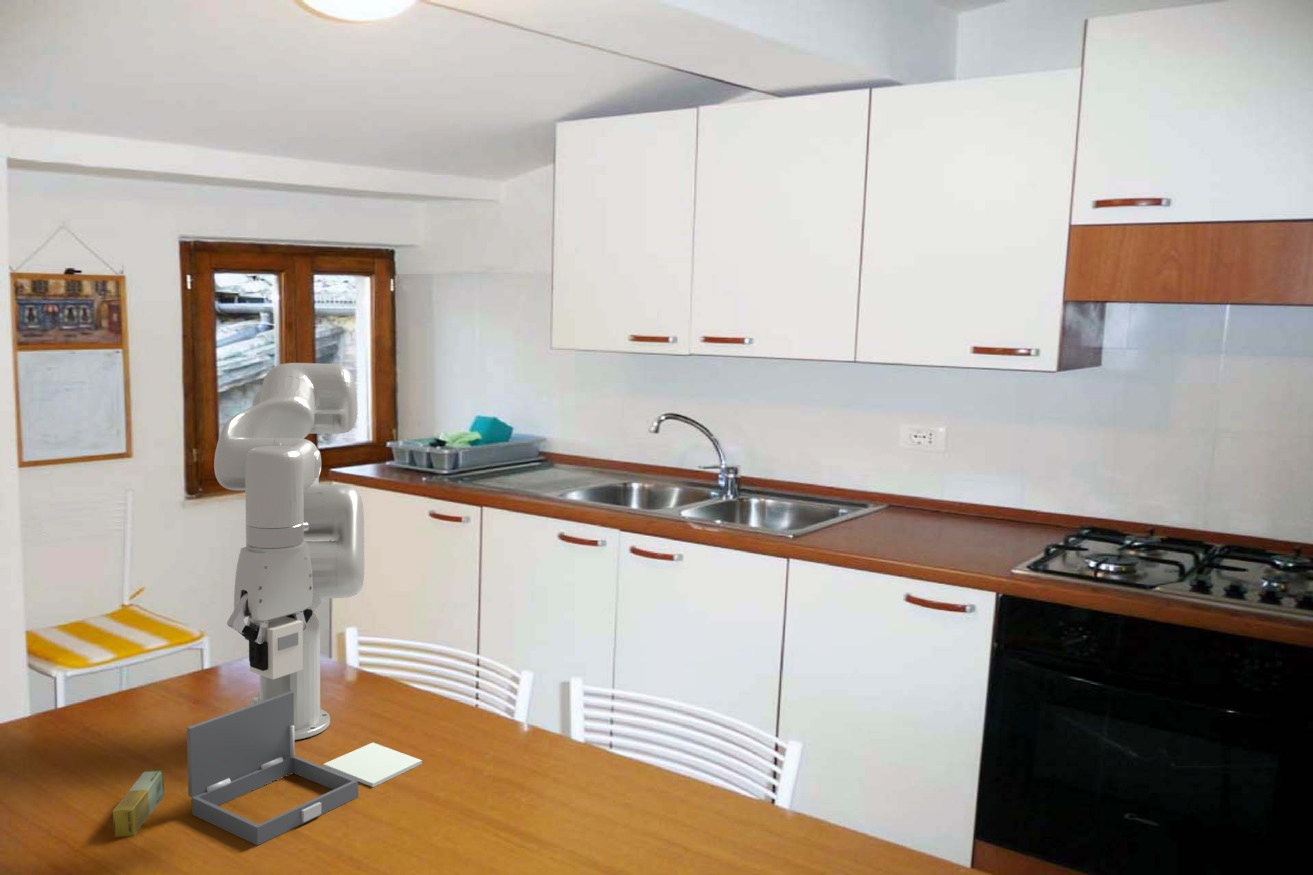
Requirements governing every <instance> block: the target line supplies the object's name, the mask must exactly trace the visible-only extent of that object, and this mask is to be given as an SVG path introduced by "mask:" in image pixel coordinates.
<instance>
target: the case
mask: <svg viewBox="0 0 1313 875" xmlns="http://www.w3.org/2000/svg"><path fill="white" fill-rule="evenodd" d="M186 739H187V740H186V744H187V745H186V746H187V751H186V752H187V785H188V787H187V788H188V790H187V791H188V792H187V794H188V797H190V798H191V809H192V812H191V814H192V815H193V816H195V817H196V818H197V817H198V818H199V819H201V820H202V821H203V820H204V821H205V822H207V823H209V824H212V825H214V826H216V827H217V828H220V829H222V830H224V831H226V832H228V833H230V834H233V835H235V836H237V837H239V838H241V839H243V840H245V841H247V842H249V843H251V844H253V845H255V846H260V845H262V844H265V843H267V841H270V840H272V839H274V838H277V837H278V836H280V835H283V834H284V833H286V832H289V831H291V830H292V829H295V828H297V827H299V826H301V825H303V824H305V823H307V822H310V821H311V820H314V819H316V818H318V817H319V816H322V815H324V814H326V813H328V812H330V811H333V810H334V809H336V808H339V807H340V806H342V805H344V804H347V803H349V802H351V801H353V800H355V799H357V798H359V781H358V780H355V779H353V778H350V777H348V776H345V775H343V774H340V773H338V772H335V771H332V770H330V769H327V768H325V767H323V766H322V765H319V764H317V763H314V762H312V761H310V760H307V759H304V758H302V757H299V756H298V755H295V740H294V692H291V691H289V692H287V693H284V694H281V695H278V696H275V697H272V698H269V699H267V700H264V701H261V702H258V703H255V704H252V705H251V704H249V705H246V706H244V707H240V708H239V709H236V710H232V711H229V712H226V713H224V714H221V715H219V716H218V715H217V716H216V717H212V718H210V719H207V720H204V721H202V722H198V723H196V724H193V725H189V726H187V727H186ZM291 773H293V774H294V773H296V774H295V775H297V774H298V775H297V776H299V775H301V776H300V777H302V778H305V779H307V780H309V781H311V782H314V783H317V784H319V785H321V786H323V787H327V788H328V789H331V790H330V791H328V792H326V793H323V794H321V795H319V796H317V797H315V798H313V799H310V800H308V801H306V802H305V803H302V804H300V805H297V806H295V807H293V808H291V809H289V810H286V811H285V812H282V813H280V814H278V815H275V816H273V817H272V818H270V819H267V820H266V821H263V822H261V823H255V822H254V821H252V820H250V819H247V818H246V817H242V816H240V815H239V814H237V813H234V812H232V811H230V810H227V809H226V808H223V807H220V805H223V804H226V803H228V802H230V801H233V800H235V799H236V798H239V797H241V795H242V796H243V794H244V795H246V794H248V792H249V793H251V792H253V791H256V790H257V788H258V789H259V788H262V786H263V787H264V785H265V786H267V785H269V783H270V782H272V781H274V782H276V781H275V780H277V779H279V780H281V779H282V778H281V777H284V776H286V775H288V776H290V774H291ZM291 775H292V774H291ZM286 777H287V776H286ZM280 778H281V779H280ZM284 778H285V777H284ZM277 781H278V780H277ZM272 783H273V782H272ZM266 784H267V785H266ZM270 784H271V783H270ZM255 789H256V790H255ZM252 790H253V791H252Z"/></svg>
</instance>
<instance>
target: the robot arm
mask: <svg viewBox="0 0 1313 875" xmlns="http://www.w3.org/2000/svg"><path fill="white" fill-rule="evenodd" d="M357 394H358V393H357V386H356V382H355V379H354V376H353V374H352V372H350V370H349V369H348V368H347V367H346V366H344V365H342V364H337V363H319V362H318V363H317V362H315V363H313V362H288V363H281V364H278V365H275V366H274V367H272V368H271V369H270V370H269V371H267V373H266V374H265V376H264V378H263V381H262V386H261V389H259V390H258V391H257V392H256V393H255V395H254V397H253V400H252V406H250V407H249V408H247V409H245V410H243V411H241V412H239V413H236V414H235V415H233V416H232V417H230V418H229V419H228V420H227V421H226V423H224V425H223V426H222V428H221V430H220V433H219V437H218V441H217V444H216V448H215V452H214V460H213V462H214V463H213V468H214V475H215V478H216V480H217V482H218V483H219V485H220V486H222V488H225V489H227V490H230V491H244V492H245V497H244V498H245V547H241V548H240V550H239V553H238V554H239V555H238V557H237V558H238V559H237V564H236V569H235V570H236V571H235V579H234V580H235V581H234V591H233V592H234V594H233V600H234V601H233V607H234V608H233V612H232V613H231V615H230V616H229V618H228V620H227V622H226V625H227V626H228V627H229V628H231V629H233V630H234V631H236V632H238V633H239V634H240V635H241V636H242V637H244V639H245V640H246V641H248V661H249V667H250V666H251V667H253V668H256V669H259V670H262V671H265V670H267V669H268V642H264V639H265V635H266V630H267V626H268V621H270V620H273V619H277V618H281V617H284V616H286V617H289V618H293V619H296V620H299V621H303V670H300V671H297V672H294V673H291V674H288V675H285V676H282V677H279V678H276V679H270V678H267V677H265V676H262V675H259V691H258V692H257V694H256V697H252V698H251V699H250V702H249V703H250V704H249V705H252V704H255V703H258V702H261V701H264V700H267V699H269V698H272V697H275V696H278V695H281V694H284V693H287V692H289V691H291V692H294V741H297V740H302V739H306V738H310V737H313V736H316V735H318V734H320V733H322V732H324V731H325V730H326V729H327V728H328V727H329V725H330V723H331V717H330V714H329V713H328V712H327V711H326V710H324V709H322V708H321V627H320V626H321V624H320V622H319V619H318V617H317V615H316V613H315V611H316V609H318V607H319V606H320V605H321V602H322V600H329V599H331V600H332V599H344V598H345V599H346V598H351V597H354V596H357V595H358V594H359V593H360V592H361V590H362V588H363V586H364V582H365V581H364V580H365V515H364V514H365V513H364V504H363V503H364V502H363V498H362V495H361V493H360V492H359V491H358V489H357V488H355V487H354V486H352V485H348V484H340V483H339V484H338V483H337V484H332V483H329V484H327V483H326V484H320V483H319V481H320V475H321V472H322V455H321V451H320V450H319V449H318V448H317V446H316V444H315V443H314V442H312V441H311V440H309V439H306V437H308V435H309V434H312V435H313V434H318V435H319V434H324V435H325V434H327V435H328V434H329V435H330V434H331V435H332V434H334V435H335V434H339V435H341V434H345V433H349V432H350V431H352V430H353V428H354V427H355V425H356V423H357V419H358V397H357V396H358V395H357ZM247 617H248V618H247ZM245 618H247V623H245V622H244V620H245ZM257 624H258V627H257V631H255V630H256V626H257Z"/></svg>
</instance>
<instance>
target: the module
mask: <svg viewBox="0 0 1313 875" xmlns="http://www.w3.org/2000/svg"><path fill="white" fill-rule="evenodd" d="M257 627H258V624H257V626H256V630H255V631H257ZM264 642H268V669H267V670H265V671H262V670H259V669H256V668H253V667H251V666H250V665H249V672H250V673H253V674H257V675H259V676H260V675H262V676H265V677H267V678H270V679H276V678H279V677H282V676H285V675H288V674H291V673H294V672H297V671H300V670H303V621H299V620H296V619H293V618H289V617H286V616H284V617H281V618H277V619H273V620H270V621H268V626H267V630H266V635H265V639H264Z"/></svg>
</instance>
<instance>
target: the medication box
mask: <svg viewBox="0 0 1313 875" xmlns="http://www.w3.org/2000/svg"><path fill="white" fill-rule="evenodd" d="M164 796H165V785H164V776H163V770H159V769H158V770H157V769H155V770H144V771H143V772H142V774H141V775H140V776H139V778H137V780H136V781H135V782H134V783H133V785H132V786H131V788H130V789H129V790H128V791H127V793H126V794H125V795H124V796H123V798H121V800H120V801H119V803H118V804H117V805H116V806H115V808H114V809H113V810H112V822H113V832H114V838H115V837H116V838H117V837H133V836H135V835H136V834H137V833H138V832H139V830H140V829H141V828H142V826H143V825H144V824H145V822H147V820H148V818H149V817H150V815H151V814H152V813H153V812H154V810H155V809H156V807H157V806H158V805H159V803H160V802H161V800H163V797H164Z"/></svg>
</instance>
